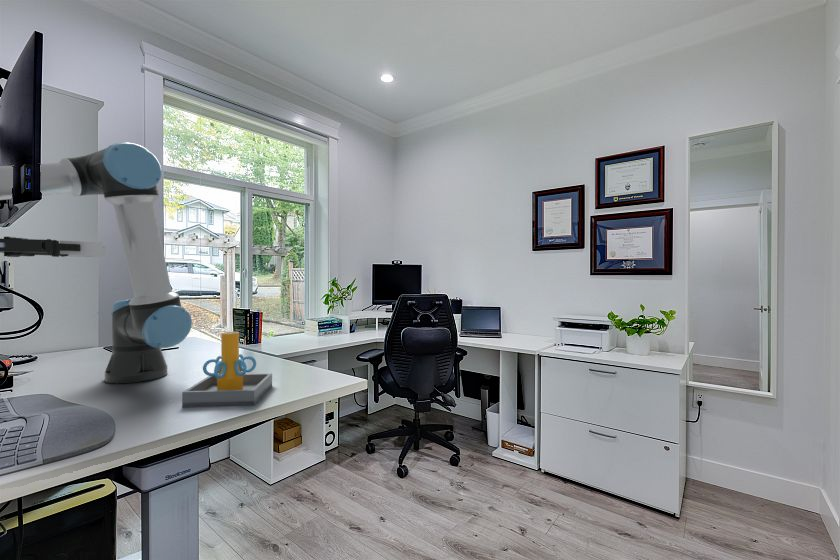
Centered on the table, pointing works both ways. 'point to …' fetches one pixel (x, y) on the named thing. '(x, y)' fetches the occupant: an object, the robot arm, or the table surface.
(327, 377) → the table surface
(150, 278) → the robot arm
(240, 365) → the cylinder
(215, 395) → the tray
